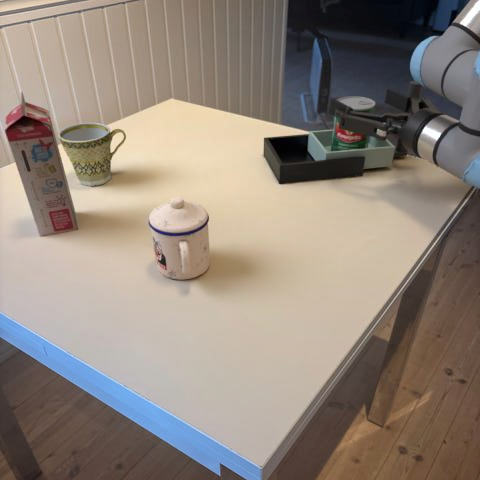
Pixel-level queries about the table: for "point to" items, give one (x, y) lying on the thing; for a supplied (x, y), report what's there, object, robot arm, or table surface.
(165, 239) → the teacup with lid
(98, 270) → the table surface
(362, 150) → the green tray with handle
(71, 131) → the ceramic cup
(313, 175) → the frame
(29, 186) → the juice carton
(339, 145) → the canned tomato
